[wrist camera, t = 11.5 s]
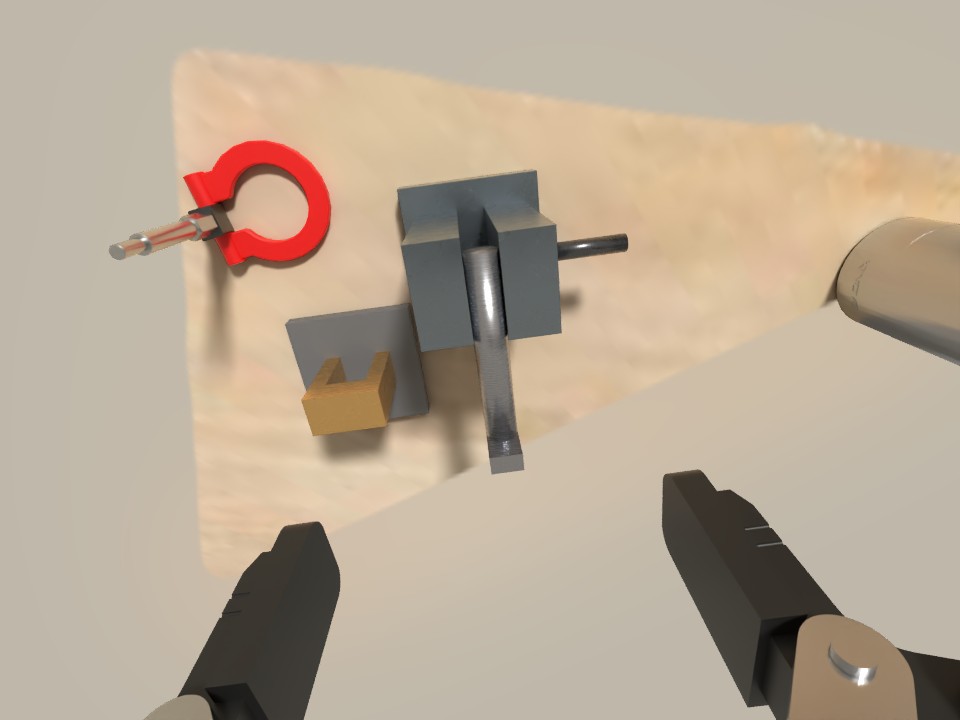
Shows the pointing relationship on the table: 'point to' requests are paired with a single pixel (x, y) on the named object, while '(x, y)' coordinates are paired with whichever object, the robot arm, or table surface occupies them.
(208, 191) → the tow hook
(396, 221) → the table surface
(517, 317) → the vise
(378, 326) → the rubber mat
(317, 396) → the ochre slotted block
